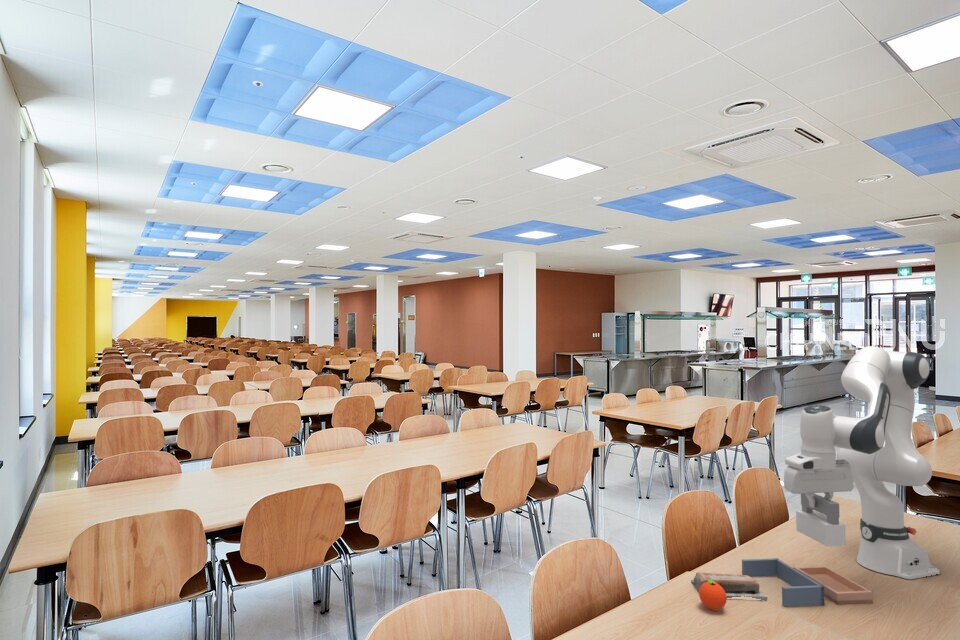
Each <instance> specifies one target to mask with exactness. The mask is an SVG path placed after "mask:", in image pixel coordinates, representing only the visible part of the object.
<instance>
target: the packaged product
mask: <svg viewBox="0 0 960 640" xmlns="http://www.w3.org/2000/svg"><path fill="white" fill-rule="evenodd" d="M706 580H712V581H714V582H716V583H717V584H719V585H720V586H721V587H722V588H723V589H724V591H725V593H726V597H727V598H732V597H741V596H744V597H745V596H746V597H752V598H756V599H761V600H764V601H763V602H767V601H768V596H767V595H766V594H765V593H764V592H762V590H760V583H759V582H758V580H757V579H756V577H750V576H747V575H742V574H734V573H732V574H731V573H716V572H695V576H694V577H693V579H690V581H691V583H692V585H693V586H694V587H695V589H696V591H698V592H699V589H700V587H701V586H702V585H703V584H704V583H706Z"/></svg>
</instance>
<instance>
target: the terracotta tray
mask: <svg viewBox="0 0 960 640" xmlns="http://www.w3.org/2000/svg"><path fill="white" fill-rule="evenodd" d="M793 568H794V569H796V570H797V571H799V572H801V573H802V574H804V575H805V576H807V577H809V578H810V579H812V580H814V581H815V582H817V583H819V584H820V585H822V586H823V587H824V598H825V599H828V600H829V601H831V602H832V603H834V604H836V605H839V606H840V605H855V604H856V605H857V604H860V605H861V604H873V603H874V592H873V590H870V589H868V588H867V587H864V586H863V585H860V583H858V582H855V581H853V580H852V579H850V578H848V577H846V576H844V575H843V574H841V573H839V572H838V571H835V570H834V569H832V568H830V567H828V566H827V565H817V566H816V565H815V566H814V565H813V566H810V565H809V566H793Z"/></svg>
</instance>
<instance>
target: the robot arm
mask: <svg viewBox="0 0 960 640" xmlns="http://www.w3.org/2000/svg"><path fill="white" fill-rule="evenodd" d="M930 368H931V367H930V363H929V360H928V358H927V357H926V356H925V355H924V354H922V353H919V352H913V351H908V352H907V351H906V352H905V351H894V350H893V351H889V350H887V351H886V350H885V349H883V348H881V347H879V346H873V345H869V346H868V345H867V346H864V347H862V348H861V349H860V350H858V351H857V352H856V353H855V354H853V356H852V357H851V358H850V360H849V362H848V363H847V364H846V366H845V368H844V369H843V370H842V374H841V377H840V382H841V385H842V387H843V389H844V390H845V391H846V392H847V394H848V395H850V396H852V397H853V398H856V399H858V400H860V401H864V402H865V403H869V404H868V408H867V412H866V415H865V416H863V417H853V416H852V417H851V416H843V415H837V414H835V413H834V412H833V409H832V408H831V407H829V406H826V405H819V404H815V405H808V406H805V407H803V409H802V410H801V417H800V426H799V427H800V430H799V431H800V433H799V434H800V437H801V446H800V451H799V452H797V453H795V454H793V455H791V456H787V457H786V458H785V459H784V463H785V465H787V466H786V467H785V469H784V473H783V487H784V489H785V490H786V492H789V493H790V494H793V495H794V494H795V495H796V494H797V495H799V494H800V495H801V494H803V493H805V495H806V497H807V499H808V500H809V506H810V507H812V508H816V507H818V502H817V501H815V500H814V498H813V496H814V494H818V493H819V494H822V493H823V494H824V496H823V497H824V498H827V499H829V500H833V498H834V493H842V492H843V493H844V492H845V493H846V492H847V493H848V492H852V491H853V489H854V486H855V487H856V489H857V492H858V493H859V494H858V495H859V499H860V506H861V518H860V520H859V521H860V523H859V527H860V528H859V530H860V538H859V539H860V540H859V548H858V552H857V557H856V559H855V560H856V562H857V563H858V565H860V566H862V567H864V568H866V569H868V570H871V571H873V572H877V573H880V574H886V575H890V576H894V577H895V576H896V577H898V578H903V579H905V580H914V579H915V580H916V579H920V578H925V577H926V576H927V577H931V575H932V576H936V574H938V575H941V572H940V570H939V569H938V568H937V567H936V566H934V565H932V564H931V563H930V557H929V552H928V551H927V550H925V549H924V548H923V547H922V546H921V545H919V544H917V543H916V541H914V540H912V539H911V538H910V535H912V536H915V535H916V534H917V528H913V527H911V526H907V527H906V526H905V513H904V511H905V510H904V509H905V508H904V507H905V506H904V504H903V501H902V500H901V498H899V497H898V496H897V495H896V494H894V493H892V492H891V491H890V490H889V489H888V488H887V487H886V486H885V484H884V482H885V483H890V484H895V485H899V486H904V487H905V486H908V487H923V486H926V485H927V484H928V483H929V481H930V480H931V478H932V476H933V469H932V466H931V464H930V462H929V460H928V459H927V457H925V456H924V455H922V454H921V453H920V452H919V451H918V450H917V448H916V447H915V445H914V443H913V440H912V427H913V426H912V425H913V418H914V413H915V412H914V411H915V405H916V404H915V403H916V401H915V399H916V398H915V397H916V396H915V390H916V389H918V388H919V387H920V386H921V385H922V384H923V383H924V382H926V380H928V378H929V376H930V372H931V371H930ZM836 448H839V449H838V450H837V449H836ZM836 450H837V451H836ZM909 534H910V535H909Z"/></svg>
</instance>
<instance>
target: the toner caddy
mask: <svg viewBox="0 0 960 640" xmlns="http://www.w3.org/2000/svg"><path fill="white" fill-rule="evenodd" d="M824 497H825V496H822V495H820V494H818V493H814V496H813V498H814V500H815V501H817V502H818V507H816V508H812V507H810V506H809V500H808V499H807V497H806V495H805V493H803V494H800V505H801V510H796V511H795V514H796V515H795V519H796V520H795V521H796V523H795V524H796V531H797V532H798V533H800V534H802V535H804V536H807V537H808V538H811V540H813V541H816V542H818V543H820V544H821V545H824V546H825V547H838V546H846V545H847V544H846V543H847V541H846V540H847V537H846V535H847V534H846V524H845V523H844V522H842V521H840V503H839V502H836V501H834V500H833V499H831V500H829V499H827V498H824Z"/></svg>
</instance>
